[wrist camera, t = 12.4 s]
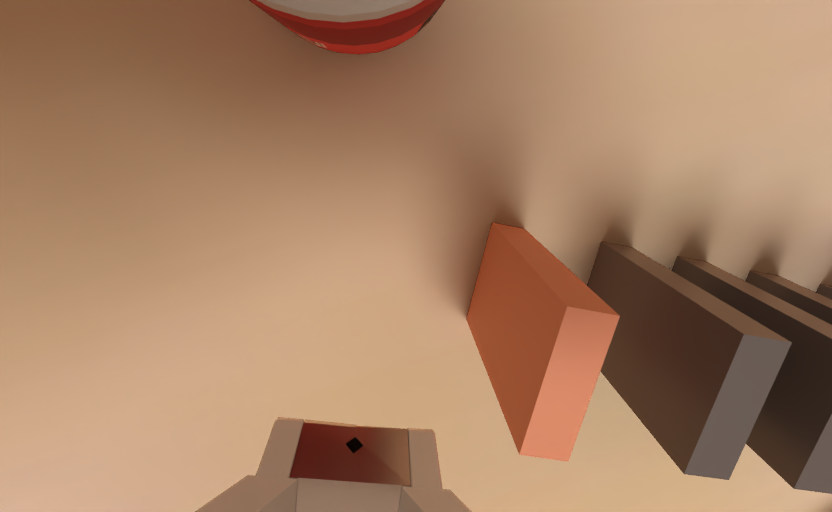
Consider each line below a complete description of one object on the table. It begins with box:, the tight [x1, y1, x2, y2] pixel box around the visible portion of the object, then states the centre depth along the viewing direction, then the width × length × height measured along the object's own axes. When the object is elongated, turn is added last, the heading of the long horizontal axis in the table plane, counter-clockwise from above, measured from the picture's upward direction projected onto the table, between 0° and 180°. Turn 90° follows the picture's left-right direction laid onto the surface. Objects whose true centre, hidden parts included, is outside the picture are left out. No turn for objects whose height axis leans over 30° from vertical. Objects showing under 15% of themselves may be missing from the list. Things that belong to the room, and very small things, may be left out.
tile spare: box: [467, 223, 620, 461], centre depth 20 cm, size 2×5×10 cm, turn 168°
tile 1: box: [587, 242, 792, 480], centre depth 21 cm, size 2×5×10 cm, turn 168°
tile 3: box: [746, 270, 832, 325], centre depth 22 cm, size 2×5×10 cm, turn 168°
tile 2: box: [672, 256, 832, 494], centre depth 21 cm, size 2×5×10 cm, turn 168°
